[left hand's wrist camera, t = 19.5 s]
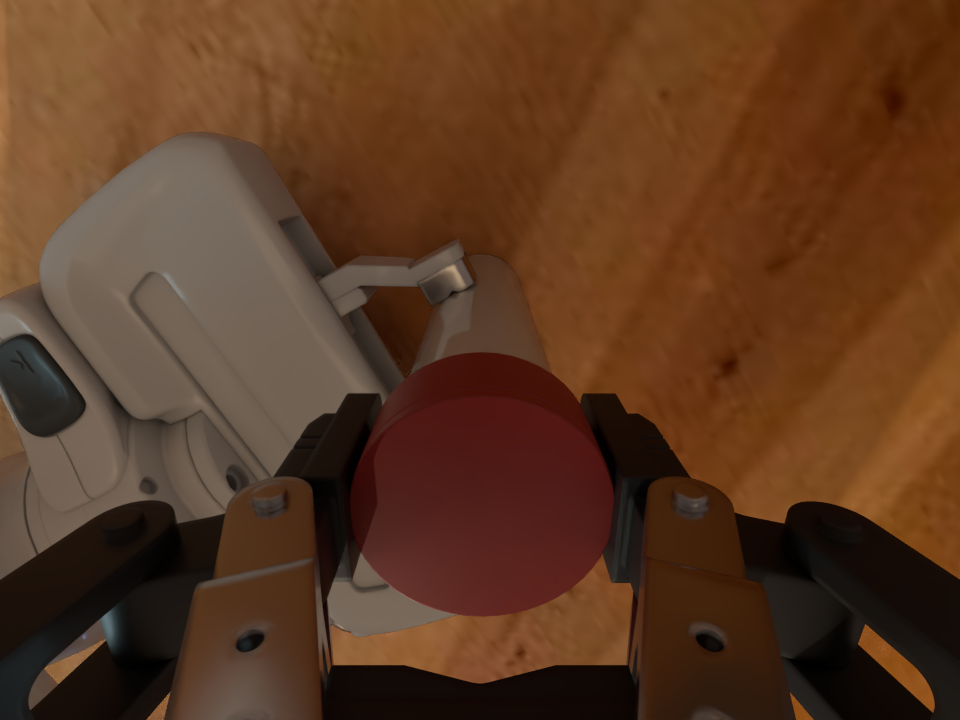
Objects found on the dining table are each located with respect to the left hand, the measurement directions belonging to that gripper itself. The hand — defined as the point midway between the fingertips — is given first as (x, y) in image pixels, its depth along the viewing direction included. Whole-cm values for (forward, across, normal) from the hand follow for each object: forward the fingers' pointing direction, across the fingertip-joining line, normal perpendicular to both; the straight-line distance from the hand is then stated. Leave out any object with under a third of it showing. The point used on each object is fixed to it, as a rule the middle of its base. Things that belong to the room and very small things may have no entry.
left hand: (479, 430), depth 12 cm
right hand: (+7, -1, 0) cm, 7 cm away
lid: (-3, 0, 0) cm, 3 cm away
